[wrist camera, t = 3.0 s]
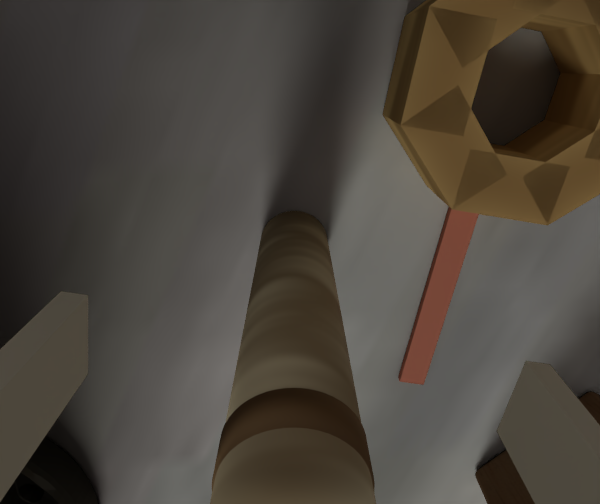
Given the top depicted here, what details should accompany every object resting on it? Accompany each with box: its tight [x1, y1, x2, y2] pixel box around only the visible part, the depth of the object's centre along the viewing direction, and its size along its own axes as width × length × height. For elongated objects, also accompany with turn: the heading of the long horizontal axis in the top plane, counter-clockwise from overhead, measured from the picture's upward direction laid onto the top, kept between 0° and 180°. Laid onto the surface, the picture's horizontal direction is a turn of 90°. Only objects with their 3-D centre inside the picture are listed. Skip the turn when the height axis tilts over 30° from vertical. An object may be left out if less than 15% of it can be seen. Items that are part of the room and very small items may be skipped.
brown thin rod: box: [398, 207, 479, 385], centre depth 25 cm, size 11×1×1 cm, turn 170°
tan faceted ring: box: [383, 0, 600, 225], centre depth 20 cm, size 10×10×4 cm
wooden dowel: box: [210, 211, 376, 504], centre depth 17 cm, size 4×4×16 cm
